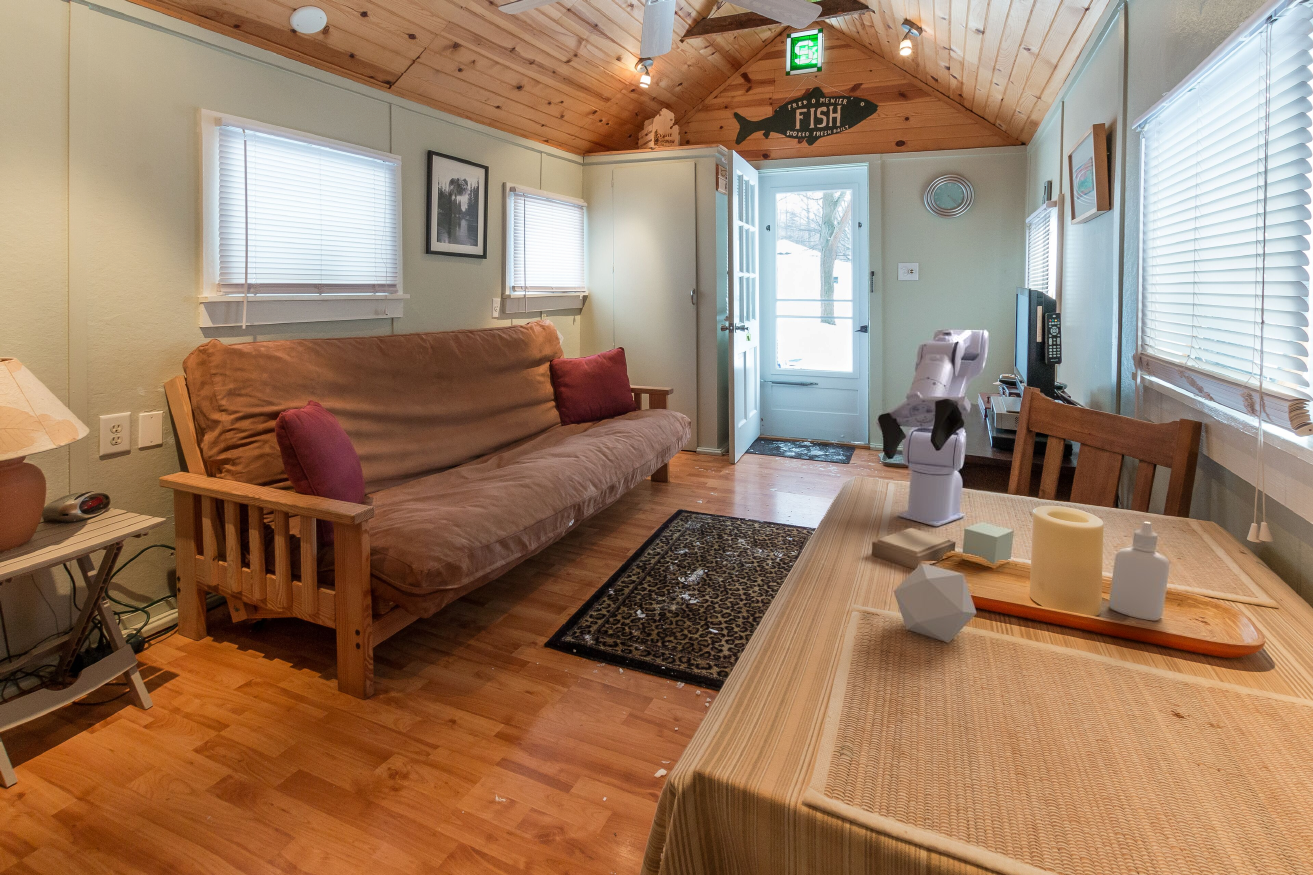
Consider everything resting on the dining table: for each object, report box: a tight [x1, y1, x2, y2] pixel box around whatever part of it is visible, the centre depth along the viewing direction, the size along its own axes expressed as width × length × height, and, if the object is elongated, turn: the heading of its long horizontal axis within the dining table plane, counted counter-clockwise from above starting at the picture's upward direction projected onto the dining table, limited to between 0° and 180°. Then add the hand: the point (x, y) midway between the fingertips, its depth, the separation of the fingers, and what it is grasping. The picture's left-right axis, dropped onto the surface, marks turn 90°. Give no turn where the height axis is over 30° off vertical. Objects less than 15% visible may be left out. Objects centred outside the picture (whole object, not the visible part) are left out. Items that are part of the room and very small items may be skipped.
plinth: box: [871, 527, 956, 570], centre depth 111 cm, size 10×8×3 cm
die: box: [893, 563, 977, 644], centre depth 85 cm, size 8×9×10 cm
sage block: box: [961, 521, 1014, 564], centre depth 109 cm, size 5×5×5 cm
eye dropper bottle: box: [1108, 521, 1171, 622], centre depth 90 cm, size 4×6×12 cm
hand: (911, 450), depth 108 cm, fingers open, 7 cm apart
